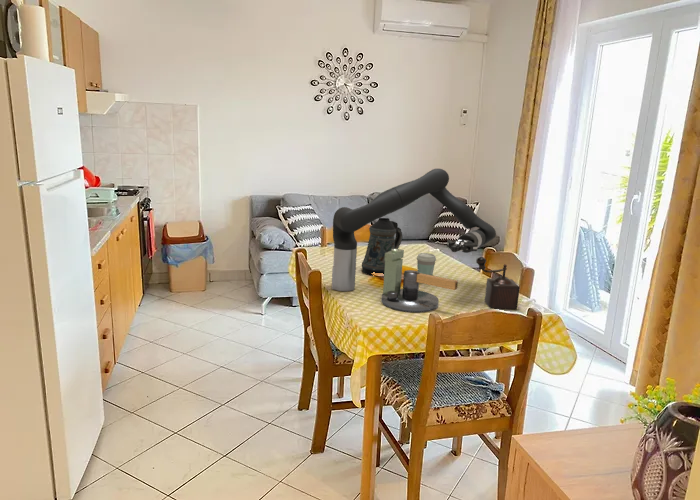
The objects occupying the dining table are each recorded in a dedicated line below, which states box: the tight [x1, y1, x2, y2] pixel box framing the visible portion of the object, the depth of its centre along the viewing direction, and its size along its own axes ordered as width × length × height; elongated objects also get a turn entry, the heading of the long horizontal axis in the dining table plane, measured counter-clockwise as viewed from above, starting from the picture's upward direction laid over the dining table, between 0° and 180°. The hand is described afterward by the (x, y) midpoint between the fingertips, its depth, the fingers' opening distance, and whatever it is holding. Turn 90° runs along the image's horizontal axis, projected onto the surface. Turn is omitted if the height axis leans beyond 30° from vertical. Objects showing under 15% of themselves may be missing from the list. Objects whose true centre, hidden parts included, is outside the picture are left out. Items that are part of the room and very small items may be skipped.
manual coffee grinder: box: [475, 256, 520, 311], centre depth 207 cm, size 16×11×18 cm
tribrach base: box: [380, 248, 440, 314], centre depth 204 cm, size 22×22×20 cm
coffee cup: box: [416, 252, 437, 276], centre depth 234 cm, size 9×8×12 cm
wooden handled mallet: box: [402, 269, 458, 300], centre depth 201 cm, size 21×6×10 cm, turn 58°
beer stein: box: [361, 217, 403, 277], centre depth 245 cm, size 16×19×25 cm
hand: (453, 249), depth 200 cm, fingers closed
